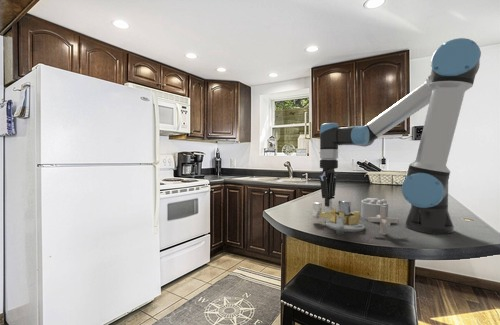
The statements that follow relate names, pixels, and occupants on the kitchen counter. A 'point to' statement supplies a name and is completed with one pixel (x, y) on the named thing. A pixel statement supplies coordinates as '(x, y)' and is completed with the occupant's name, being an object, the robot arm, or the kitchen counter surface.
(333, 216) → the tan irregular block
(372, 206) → the lumpy-topped squat cylinder
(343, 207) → the cap flange
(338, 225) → the stop pin
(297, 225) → the kitchen counter surface
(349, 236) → the kitchen counter surface
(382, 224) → the pipe connector
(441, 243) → the kitchen counter surface
